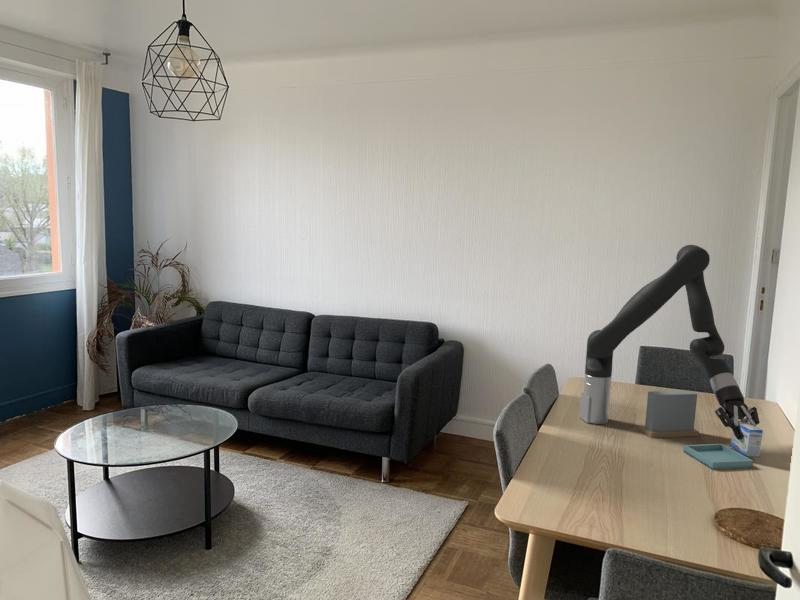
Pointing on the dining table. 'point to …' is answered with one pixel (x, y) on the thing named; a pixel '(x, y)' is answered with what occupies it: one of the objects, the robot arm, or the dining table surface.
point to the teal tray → (718, 456)
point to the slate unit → (670, 414)
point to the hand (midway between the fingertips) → (748, 438)
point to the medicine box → (748, 439)
